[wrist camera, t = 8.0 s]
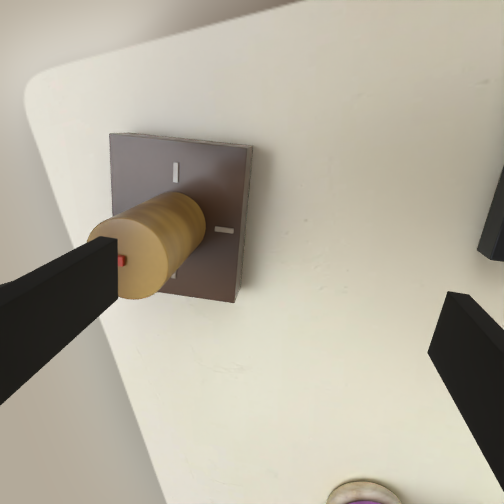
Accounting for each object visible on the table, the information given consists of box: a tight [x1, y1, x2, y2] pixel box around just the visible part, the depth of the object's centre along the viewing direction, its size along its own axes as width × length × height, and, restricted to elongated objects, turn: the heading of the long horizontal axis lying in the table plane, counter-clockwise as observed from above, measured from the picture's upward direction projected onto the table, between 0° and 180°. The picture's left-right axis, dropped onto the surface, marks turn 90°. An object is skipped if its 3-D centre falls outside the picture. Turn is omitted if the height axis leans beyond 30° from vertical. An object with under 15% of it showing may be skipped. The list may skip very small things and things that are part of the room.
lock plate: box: [109, 133, 253, 303], centre depth 29 cm, size 12×10×3 cm
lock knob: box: [87, 192, 206, 299], centre depth 23 cm, size 5×5×8 cm
